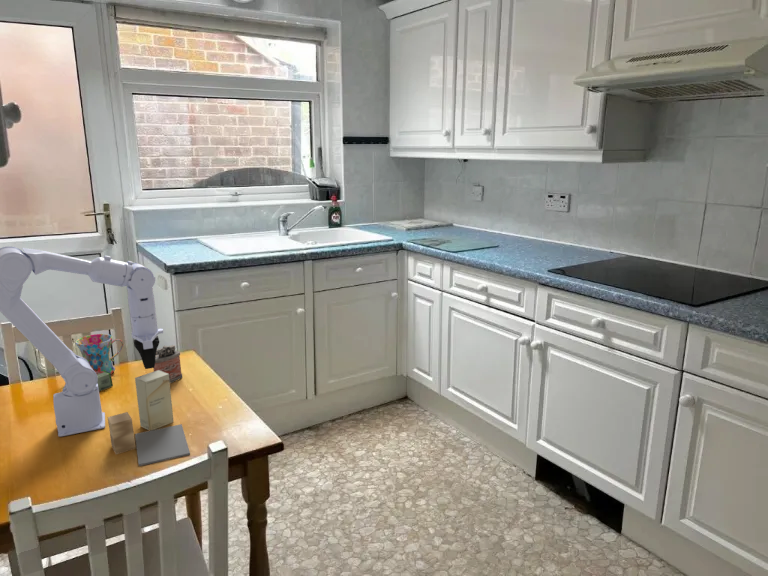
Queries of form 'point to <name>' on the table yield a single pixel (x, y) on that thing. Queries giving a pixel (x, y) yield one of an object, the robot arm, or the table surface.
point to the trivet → (161, 444)
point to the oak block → (121, 433)
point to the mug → (98, 351)
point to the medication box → (103, 381)
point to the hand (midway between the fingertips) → (149, 367)
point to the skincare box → (154, 400)
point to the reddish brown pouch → (168, 362)
